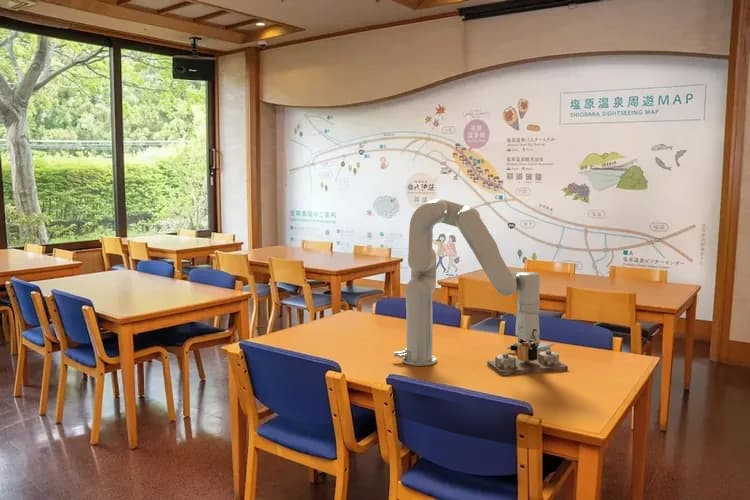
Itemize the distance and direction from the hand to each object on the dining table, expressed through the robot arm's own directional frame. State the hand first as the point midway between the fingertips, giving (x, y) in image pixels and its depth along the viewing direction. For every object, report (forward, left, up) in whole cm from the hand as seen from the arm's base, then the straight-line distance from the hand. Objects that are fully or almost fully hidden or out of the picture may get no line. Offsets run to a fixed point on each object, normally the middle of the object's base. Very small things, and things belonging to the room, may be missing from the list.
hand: (527, 356), depth 218 cm
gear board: (0, 0, -4) cm, 4 cm away
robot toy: (+9, +16, -5) cm, 19 cm away
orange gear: (0, 0, -1) cm, 1 cm away
